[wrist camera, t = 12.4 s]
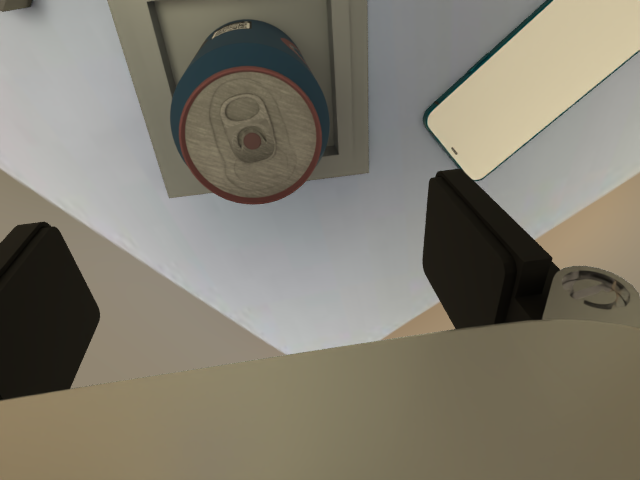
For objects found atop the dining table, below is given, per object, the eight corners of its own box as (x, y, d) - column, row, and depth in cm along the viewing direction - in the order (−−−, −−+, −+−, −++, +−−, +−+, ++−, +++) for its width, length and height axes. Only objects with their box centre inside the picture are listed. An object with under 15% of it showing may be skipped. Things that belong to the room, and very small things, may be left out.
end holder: (363, -73, 24) (374, -76, 22) (366, 168, 32) (374, 182, 30) (96, -50, 23) (79, -52, 21) (170, 193, 31) (164, 210, 29)
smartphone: (613, -67, 26) (415, 115, 31) (624, -68, 25) (419, 119, 30) (651, 33, 30) (469, 182, 35) (661, 34, 29) (475, 187, 34)
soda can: (315, 115, 29) (350, 194, 19) (219, 141, 29) (202, 233, 19) (290, 3, 25) (316, 27, 15) (178, 33, 25) (129, 77, 15)
